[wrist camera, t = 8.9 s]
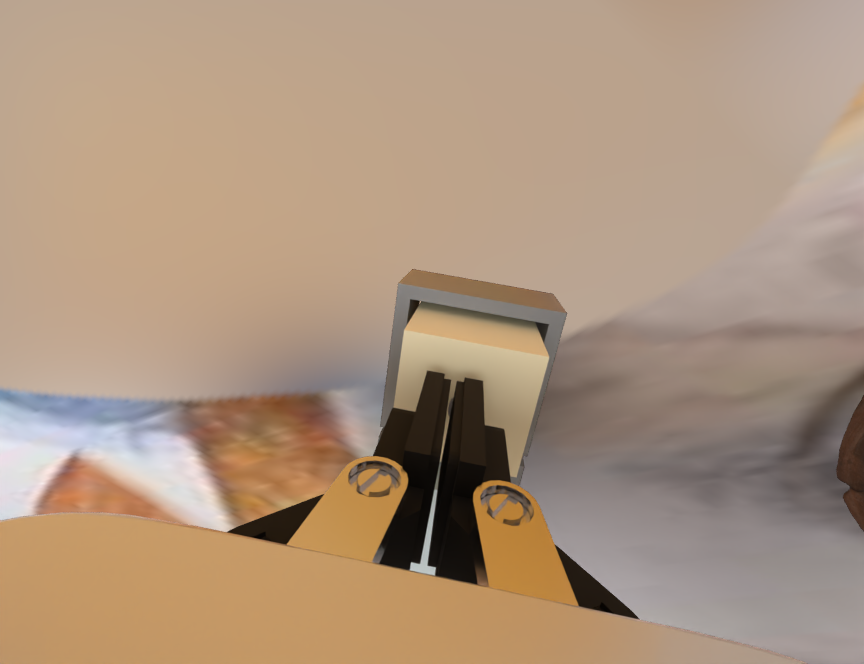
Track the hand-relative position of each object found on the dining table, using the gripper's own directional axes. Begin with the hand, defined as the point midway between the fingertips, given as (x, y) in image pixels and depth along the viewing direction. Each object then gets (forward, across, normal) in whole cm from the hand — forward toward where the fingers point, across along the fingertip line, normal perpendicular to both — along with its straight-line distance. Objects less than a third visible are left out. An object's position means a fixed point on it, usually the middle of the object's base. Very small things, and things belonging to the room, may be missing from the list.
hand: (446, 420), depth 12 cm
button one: (+5, -1, 0) cm, 5 cm away
